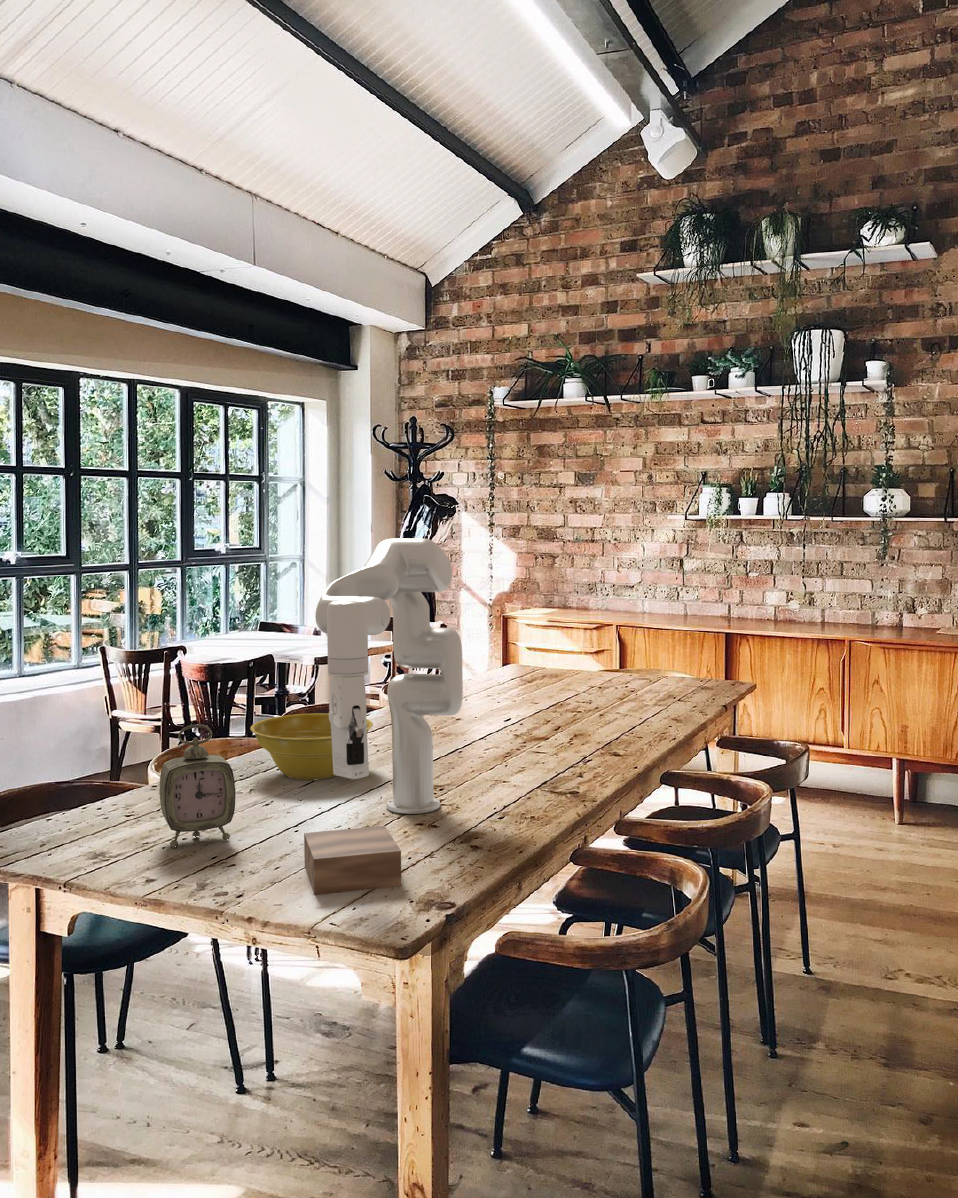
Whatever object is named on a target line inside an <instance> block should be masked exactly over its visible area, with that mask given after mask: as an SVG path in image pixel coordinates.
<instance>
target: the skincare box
mask: <svg viewBox="0 0 958 1198" xmlns="http://www.w3.org/2000/svg"><path fill="white" fill-rule="evenodd" d="M330 719H331V738H332V756H333V774H334V775H336V776H338V777H341V778H342V777H343V778H346V779H349V780H358V779H362V778H366V777H368V776H369V775H370V768H369V767H370V766H369V748H368V744H369V743H368V734H367V723H366V725H365V726H364V731H363V732H364V733H363V734H364V735H363V736H364V763H363V764H357V765H348V764H347V752H346V744H347V743H348V738H347V731H346V727H345V729H344V730H341V729H339V728H338V727H337V726H335V725H334V724H333V714H332V713H330ZM349 726H350V727H351V726H355V724H354V723H351V721H350V724H349ZM352 733H353V731H351V734H352Z"/></svg>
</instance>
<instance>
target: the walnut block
mask: <svg viewBox="0 0 958 1198" xmlns="http://www.w3.org/2000/svg"><path fill="white" fill-rule="evenodd" d="M303 839H304V841H303V843H304V845H303V846H304V847H303V849H304V850H303V851H304V868H305V871H306V874H307V877H308V880H309V884H310V887H311V889H312V892H313V894H314V896H320V895H330V894H337V893H338V894H339V893H340V894H341V893H349V892H357V891H359V892H360V891H367V890H368V891H369V890H377V889H385V888H394V887H396V888H397V887H402V850H401V848H400V847H399V846H398V843H397V842H396V841H395V839H394V838H393V836H392V835H391V833H390V832H389V830H388V828H387V826H385V825H379V826H369V827H357V828H356V827H355V828H347V829H346V828H345V829H336V830H324V831H313V832H312V831H311V832H304V833H303Z"/></svg>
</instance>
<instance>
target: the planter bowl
mask: <svg viewBox="0 0 958 1198" xmlns="http://www.w3.org/2000/svg"><path fill="white" fill-rule="evenodd" d="M366 723H367V735H368V733H369V730H371V729H372V728H373V727H374V723H373V722H372V721H371V720H370V719H367V718H366ZM249 729H250V731H251V732H252V733H254V735H255V738H256V740H257V742H258V744H259V746H260V747H261V748H262V749H264V750H266V751H267V752H268V753H269V754H270V757H271V759H272V760H273V762H274V764H275V765H276V767H277V768H278V770H279V771H280V772H281V773H282V774H283V775H286V777H287V778H291V779H295V780H303V781H304V780H305V781H313V780H314V781H315V780H317V781H318V780H325V779H330V778H333V777H335V776H337V775H334V774H333V756H332V738H331V722H330V720H329V713H322V712H321V713H318V712H317V713H299V714H298V713H297V714H288V715H280V716H275V717H270V718H265V719H261V720H260V721H257V722H255V723H254V724H252V725H251V726H250V728H249Z"/></svg>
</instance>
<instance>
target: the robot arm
mask: <svg viewBox="0 0 958 1198" xmlns="http://www.w3.org/2000/svg"><path fill="white" fill-rule="evenodd" d="M452 568H453V567H452V564H451V561H450V559H449V557H448V556H447V554H446V553H445V552H444V550H443V549H442V548H441V547H440V545H438V543H436V542H435V541H434V540H431V539H429V538H424V537H423V538H417V537H414V538H413V537H412V538H409V537H407V538H397V537H395V538H394V537H393V538H387V539H384V540H382V541H380V542H379V543H378V544H377V545H376V546H375V548H374V549H373V551H372V552H371V554H370V556H369V558H368V559H367V561H366V563H365V564H364V566H363V567H362V568H360V569H356V570H355V571H352V572H350V573H348V574H346V575H344V576H342V577H340V578H338V579H335V580H334V581H332V582H331V583H330V584H329V585H328V586H327V587H326V589H325V591H324V592H323V593H322V595H321V597H320V598H319V601H318V602H317V604H316V605H317V606H316V609H315V614H314V615H315V616H314V617H315V623H316V626H317V628H318V629H319V630H320V631H321V632H322V633H323V634H326V635H327V636H326V637H327V639H326V640H327V643H326V644H327V645H326V646H327V675H328V676H330V677H329V679H330V680H329V681H330V682H329V696H328V697H329V700H328V701H329V702H328V706H329V707H328V710H329V711H328V714H329V720H330V722H331V719H330V713H332V714H333V724H334V725H335V726H337V727H338V728H339V729H341V730H344V729H345V727H346V731H347V738H348V743H347V744H346V752H347V764H348V765H357V764H363V763H364V736H363V735H364V734H363V733H364V732H363V731H364V726H365V725H366V719H367V697H366V682H365V676H366V675H368V674H369V640H368V639H369V636H377V635H380V634H382V633H383V632H384V631H386V630H387V628H388V626H389V625H390V621H391V609H390V607H389V604H388V603H387V602H386V601H387V600H389V602H390V604H391V608H392V625H393V627H392V630H393V631H392V634H393V637H392V638H393V640H392V641H393V642H392V643H393V644H392V645H393V656H394V661H395V663H396V664H397V665H398V666H400V667H403V668H405V669H406V668H408V669H427V670H428V669H432V670H433V669H434V670H439V671H440V673H439V674H435V673H432V674H431V673H403V674H398V675H396V676H394V677H392V678H391V679H390V681H389V682H388V684H387V690H386V691H387V702H388V706H389V711H390V713H389V714H390V720H391V740H392V741H391V742H392V743H391V745H392V746H391V747H392V749H391V750H392V751H391V752H392V756H391V757H392V798H391V799H389V800H387V801H386V809H387V810H388V811H390V812H393V813H396V814H402V815H403V814H404V815H405V814H406V815H409V814H410V815H413V814H414V815H417V814H419V815H420V814H426V813H430V812H433V811H437V810H438V809H439V808H440V807H441V802H440V800H439V799H438V798H436V797H434V737H433V735H434V734H433V730H432V727H431V726H430V725H429V723H428V722H427V720H426V718H425V717H424V716H441V717H442V716H445V717H446V716H447V717H449V716H454V715H456V714H458V713H459V711H461V709H462V706H463V697H464V695H463V692H464V690H463V687H464V684H463V646H462V645H463V644H462V639H461V637H460V635H459V633H458V632H457V631H456V630H454V629H453V628H450V627H432V626H431V623H430V622H431V621H430V615H431V614H430V611H431V610H430V604H429V602H428V600H427V599H426V597H425V595H424V594H423V593H441V592H445V591H446V590H448V588H449V587H450V585H451V583H452V580H453V579H452V578H453V569H452ZM350 721H351V723H354V724H355V726H351V727H350V726H349V724H350ZM351 731H353V733H352V734H351Z"/></svg>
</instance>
